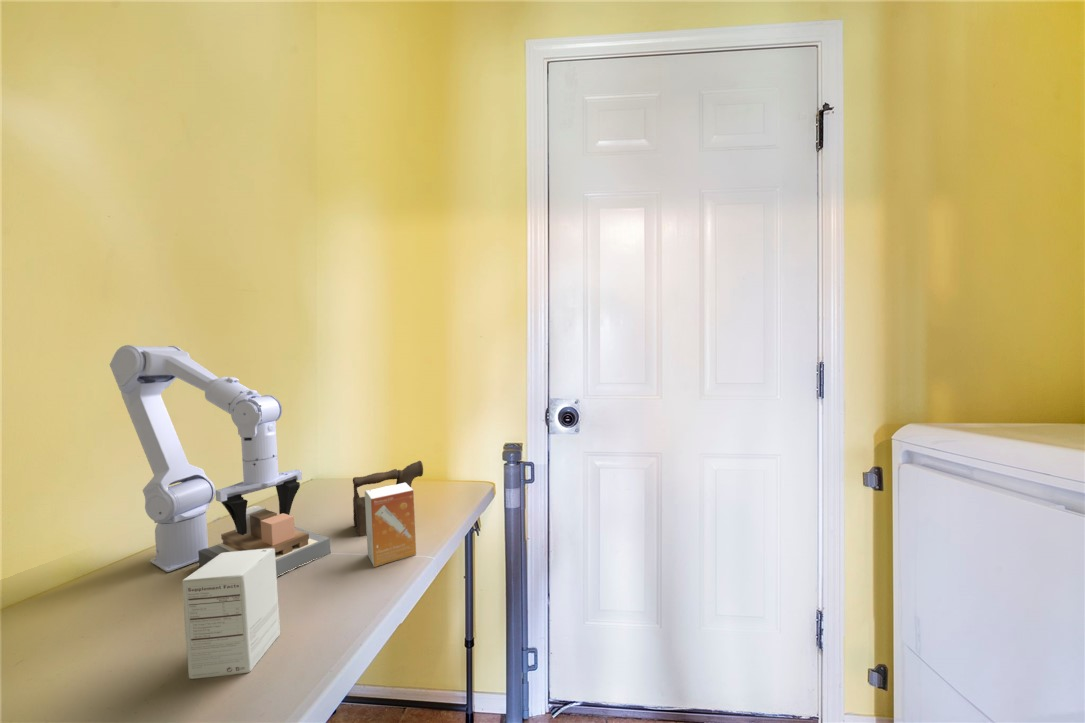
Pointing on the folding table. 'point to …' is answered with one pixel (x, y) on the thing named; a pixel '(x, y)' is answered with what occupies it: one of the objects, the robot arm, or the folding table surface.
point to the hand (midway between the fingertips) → (264, 525)
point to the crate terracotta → (277, 529)
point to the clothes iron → (400, 475)
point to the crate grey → (249, 512)
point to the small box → (390, 523)
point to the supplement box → (231, 612)
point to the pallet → (259, 544)
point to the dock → (285, 562)
